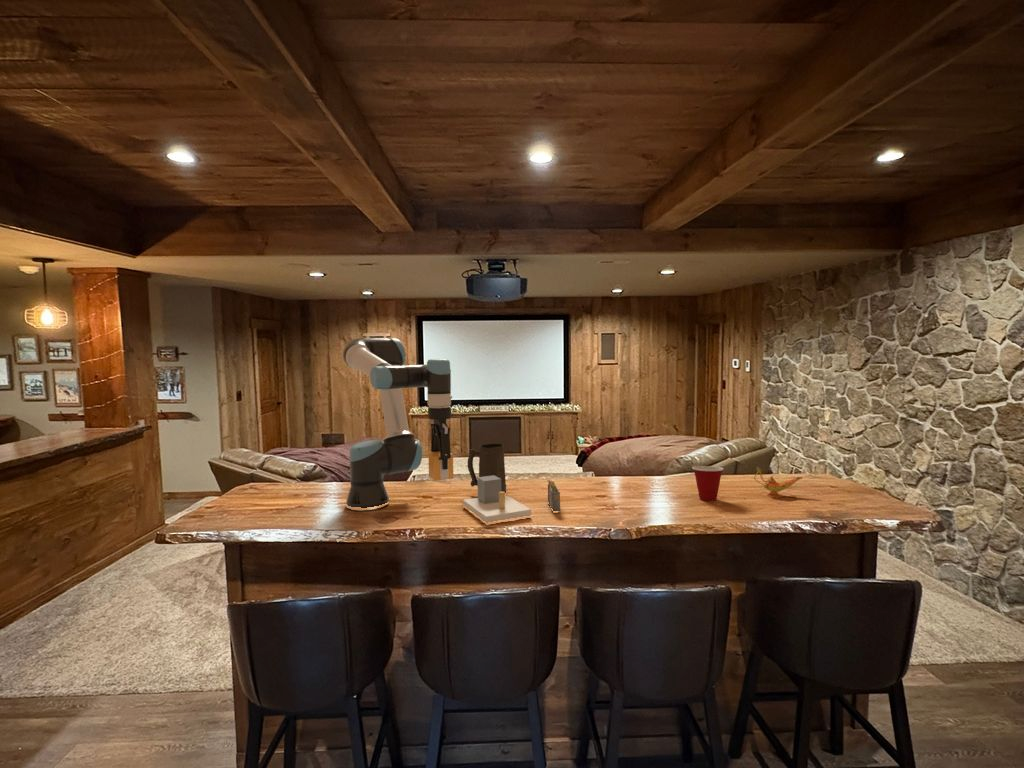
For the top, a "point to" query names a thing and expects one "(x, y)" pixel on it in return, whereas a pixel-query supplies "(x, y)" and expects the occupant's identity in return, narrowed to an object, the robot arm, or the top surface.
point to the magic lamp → (776, 485)
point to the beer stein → (488, 463)
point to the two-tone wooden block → (438, 465)
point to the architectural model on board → (553, 496)
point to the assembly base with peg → (494, 502)
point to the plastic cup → (708, 481)
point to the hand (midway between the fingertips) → (441, 476)
